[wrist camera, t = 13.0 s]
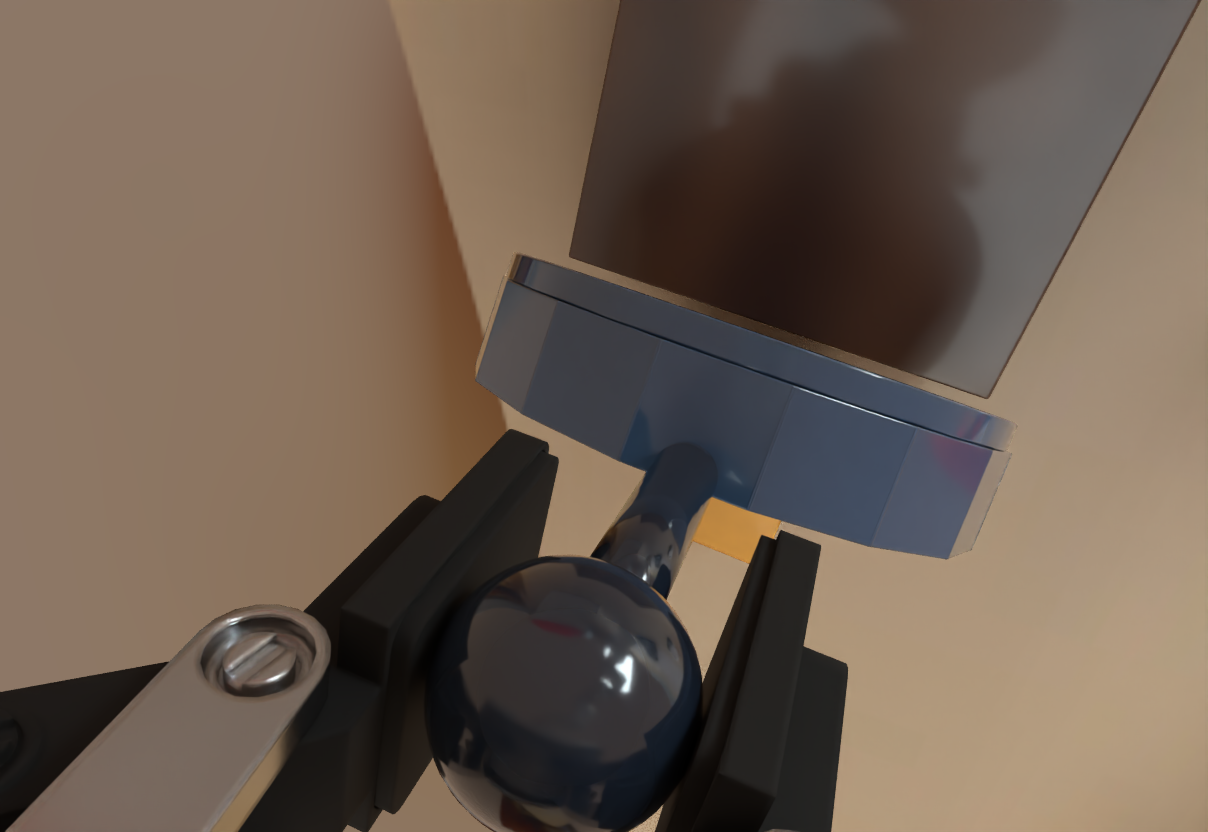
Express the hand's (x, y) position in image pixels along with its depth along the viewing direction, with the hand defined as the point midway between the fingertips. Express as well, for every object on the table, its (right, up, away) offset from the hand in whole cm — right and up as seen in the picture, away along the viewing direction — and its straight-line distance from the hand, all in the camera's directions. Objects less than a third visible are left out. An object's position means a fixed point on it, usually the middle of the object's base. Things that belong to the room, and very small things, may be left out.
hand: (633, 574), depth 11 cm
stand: (+7, +11, +14) cm, 19 cm away
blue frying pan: (+2, +4, +4) cm, 6 cm away
